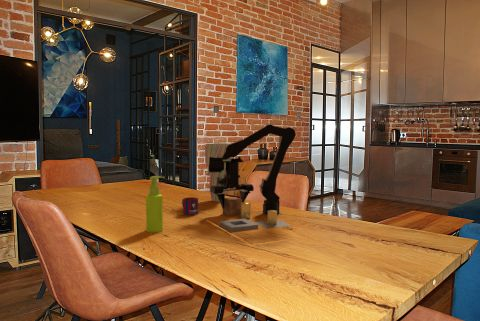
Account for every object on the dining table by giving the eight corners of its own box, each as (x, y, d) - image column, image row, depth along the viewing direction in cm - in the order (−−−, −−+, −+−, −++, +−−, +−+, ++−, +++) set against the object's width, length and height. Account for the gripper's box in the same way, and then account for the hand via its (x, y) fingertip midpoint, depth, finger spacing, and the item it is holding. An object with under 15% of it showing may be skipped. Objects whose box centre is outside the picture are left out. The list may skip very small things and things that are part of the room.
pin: (247, 218, 163) (247, 201, 163) (252, 220, 160) (252, 203, 159) (239, 219, 161) (239, 202, 161) (243, 221, 158) (243, 204, 157)
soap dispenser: (167, 228, 145) (166, 175, 143) (157, 233, 138) (156, 177, 137) (153, 227, 147) (152, 174, 145) (143, 231, 140) (142, 176, 139)
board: (276, 220, 158) (276, 207, 158) (291, 226, 149) (292, 212, 148) (253, 223, 154) (253, 209, 153) (267, 229, 144) (267, 215, 143)
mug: (186, 216, 166) (186, 200, 166) (177, 211, 175) (177, 197, 174) (200, 214, 170) (200, 199, 169) (191, 210, 178) (191, 195, 178)
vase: (235, 200, 206) (236, 143, 203) (221, 203, 194) (221, 144, 192) (215, 197, 213) (215, 143, 211) (199, 201, 202) (199, 143, 199)
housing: (235, 212, 174) (235, 197, 173) (241, 215, 168) (242, 199, 168) (222, 213, 171) (222, 198, 171) (228, 216, 165) (228, 200, 165)
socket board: (244, 223, 154) (244, 218, 153) (258, 229, 144) (258, 224, 144) (219, 226, 149) (219, 221, 148) (231, 233, 139) (231, 227, 139)
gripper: (242, 169, 180) (242, 203, 181) (205, 171, 171) (205, 206, 173) (254, 172, 170) (254, 207, 171) (215, 174, 161) (215, 211, 163)
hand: (232, 207), depth 170 cm, fingers open, 8 cm apart
